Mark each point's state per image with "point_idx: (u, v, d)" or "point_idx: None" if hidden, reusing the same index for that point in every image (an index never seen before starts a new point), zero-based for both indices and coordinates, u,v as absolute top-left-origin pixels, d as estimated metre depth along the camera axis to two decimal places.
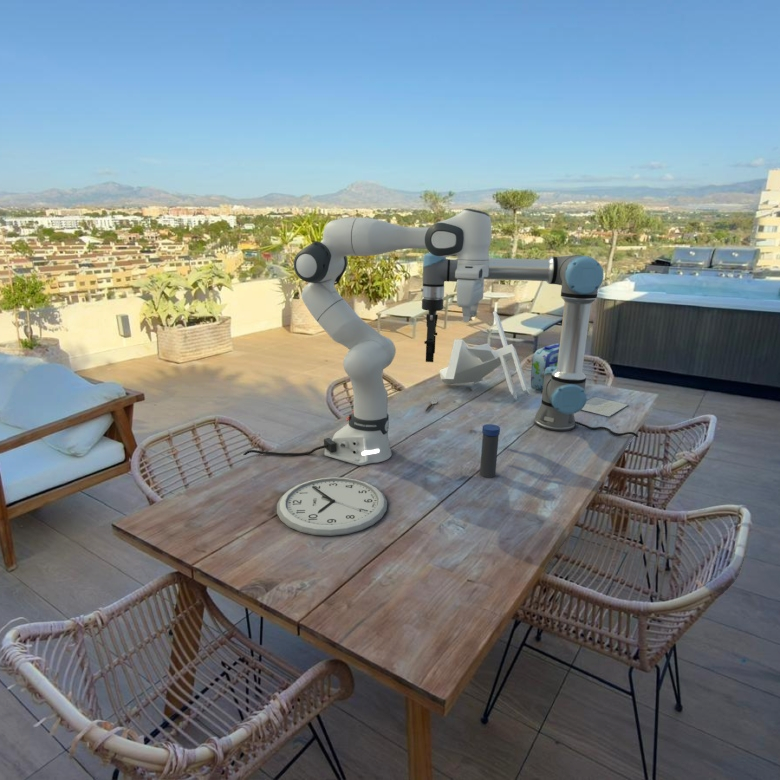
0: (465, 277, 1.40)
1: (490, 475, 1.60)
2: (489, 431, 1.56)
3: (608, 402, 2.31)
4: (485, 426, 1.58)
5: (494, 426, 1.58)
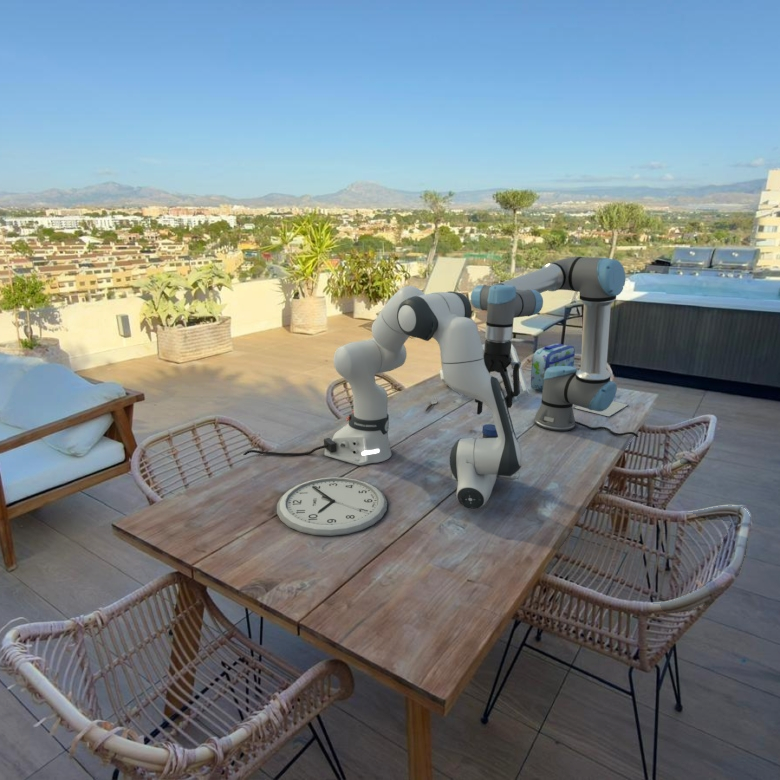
0: None
1: None
2: (489, 431, 1.56)
3: None
4: (485, 426, 1.58)
5: (494, 426, 1.58)
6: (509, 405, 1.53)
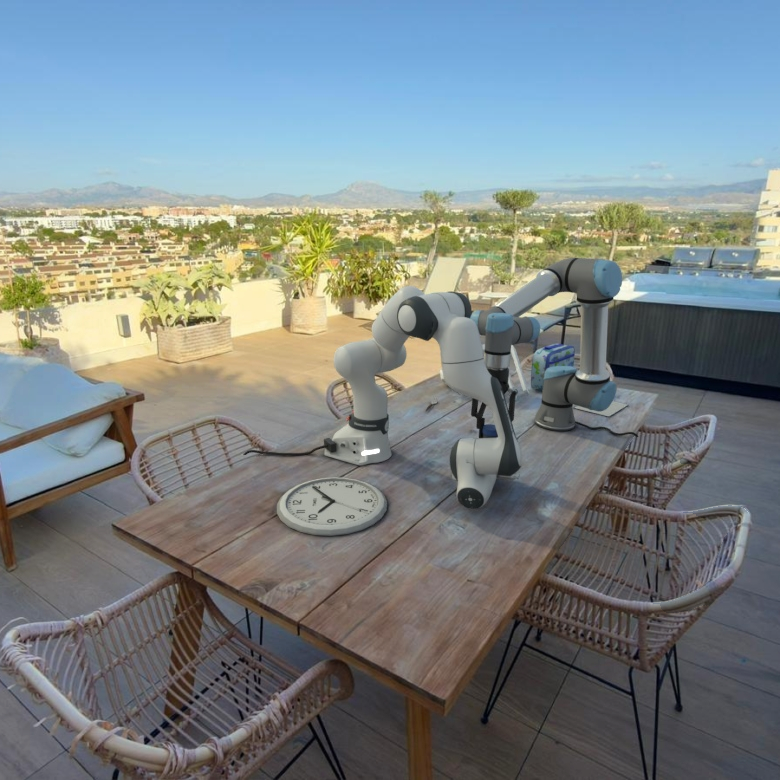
0: None
1: None
2: (489, 431, 1.56)
3: None
4: (485, 426, 1.58)
5: (494, 426, 1.58)
6: None
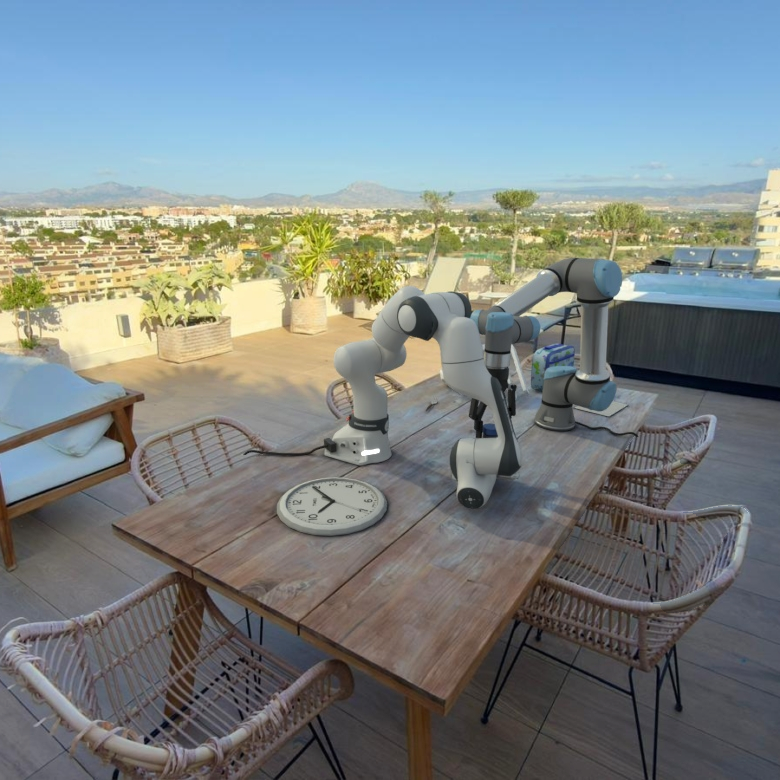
0: None
1: None
2: None
3: None
4: (490, 428, 1.56)
5: (489, 425, 1.59)
6: None
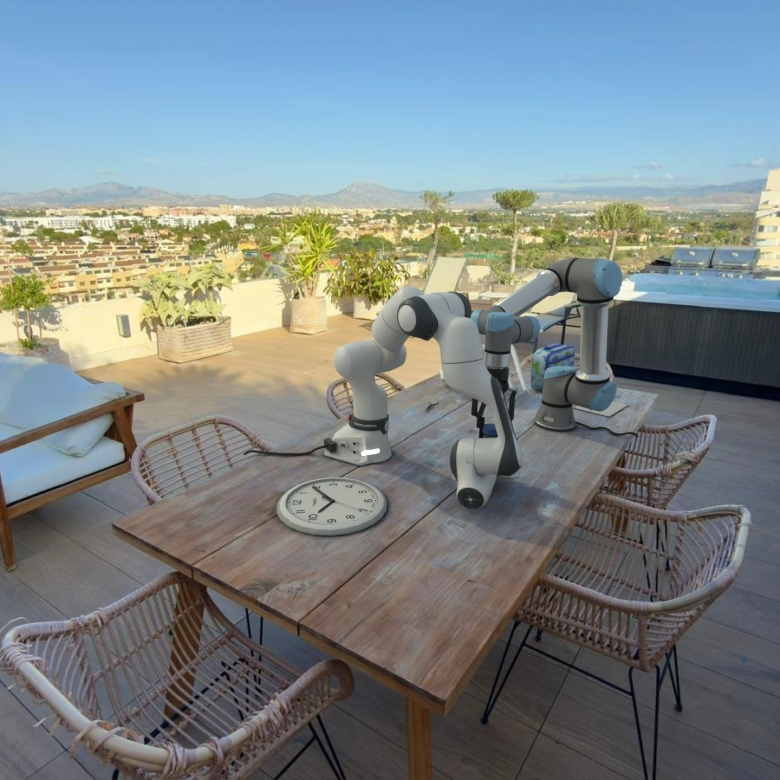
0: None
1: None
2: None
3: None
4: (490, 428, 1.56)
5: (489, 425, 1.59)
6: None
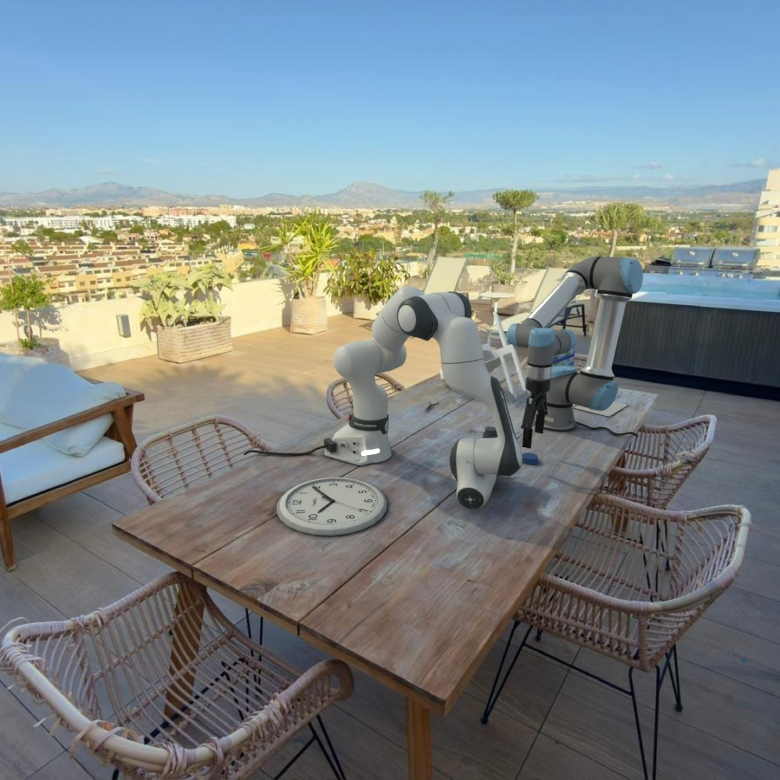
0: None
1: None
2: None
3: None
4: (535, 456, 1.71)
5: (526, 456, 1.71)
6: None
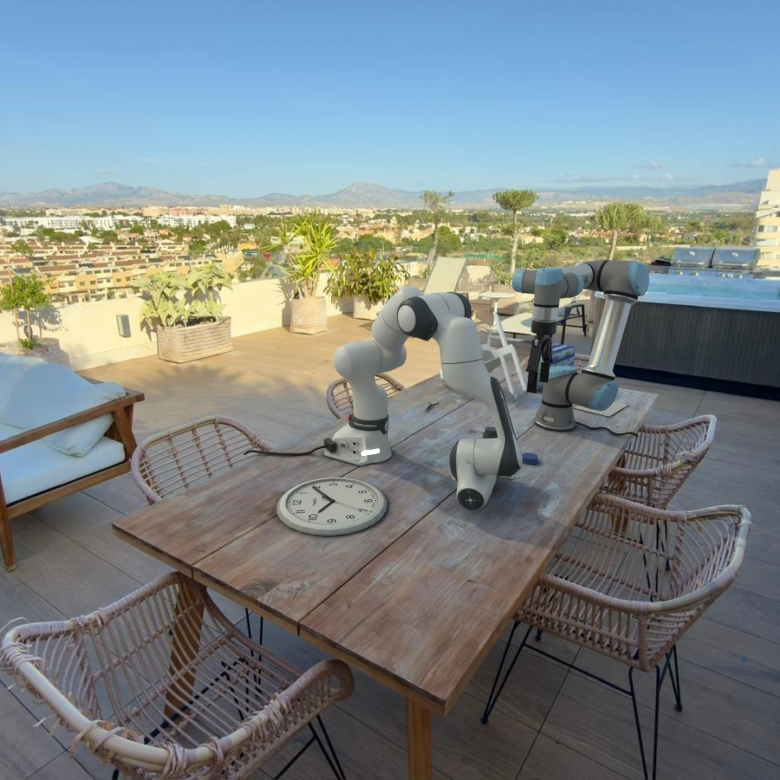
0: None
1: None
2: None
3: None
4: (535, 456, 1.71)
5: (526, 456, 1.71)
6: None
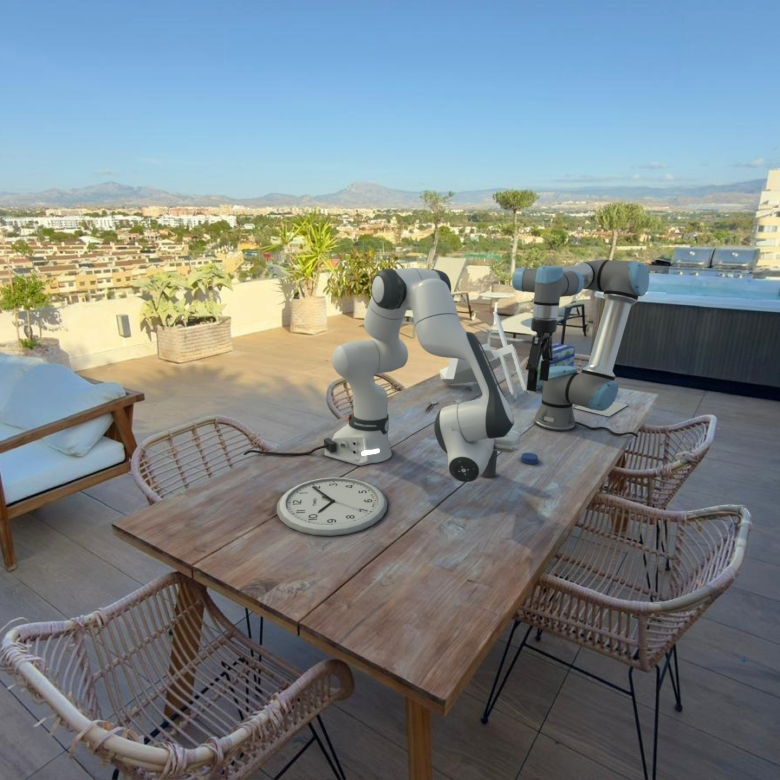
0: None
1: (490, 475, 1.60)
2: None
3: None
4: (535, 456, 1.71)
5: (526, 456, 1.71)
6: None
